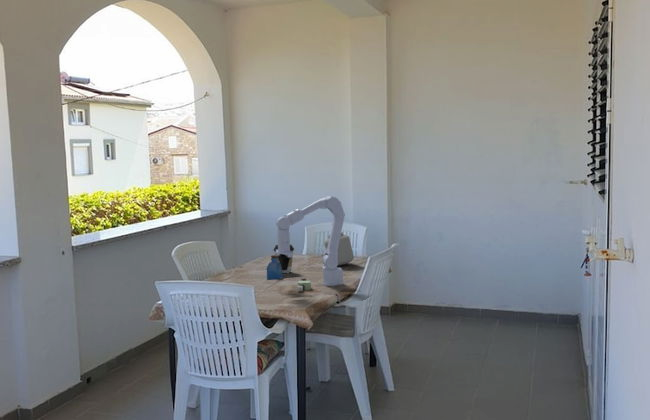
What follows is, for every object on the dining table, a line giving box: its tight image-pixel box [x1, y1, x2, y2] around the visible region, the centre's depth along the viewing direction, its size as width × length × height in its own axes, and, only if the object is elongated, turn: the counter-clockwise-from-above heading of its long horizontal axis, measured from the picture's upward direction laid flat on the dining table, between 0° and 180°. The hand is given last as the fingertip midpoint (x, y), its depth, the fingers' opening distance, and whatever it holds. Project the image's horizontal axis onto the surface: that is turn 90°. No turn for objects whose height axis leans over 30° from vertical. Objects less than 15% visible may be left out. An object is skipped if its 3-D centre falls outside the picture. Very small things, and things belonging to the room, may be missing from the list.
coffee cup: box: [272, 243, 295, 274], centre depth 332 cm, size 11×11×15 cm
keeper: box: [297, 280, 312, 290], centre depth 286 cm, size 4×6×3 cm
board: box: [271, 277, 321, 296], centre depth 286 cm, size 19×17×5 cm
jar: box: [321, 231, 355, 266], centre depth 349 cm, size 19×15×25 cm
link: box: [298, 279, 308, 291], centre depth 288 cm, size 15×4×2 cm, turn 174°
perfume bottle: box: [266, 254, 283, 281], centre depth 317 cm, size 6×6×12 cm
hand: (284, 270), depth 291 cm, fingers closed
